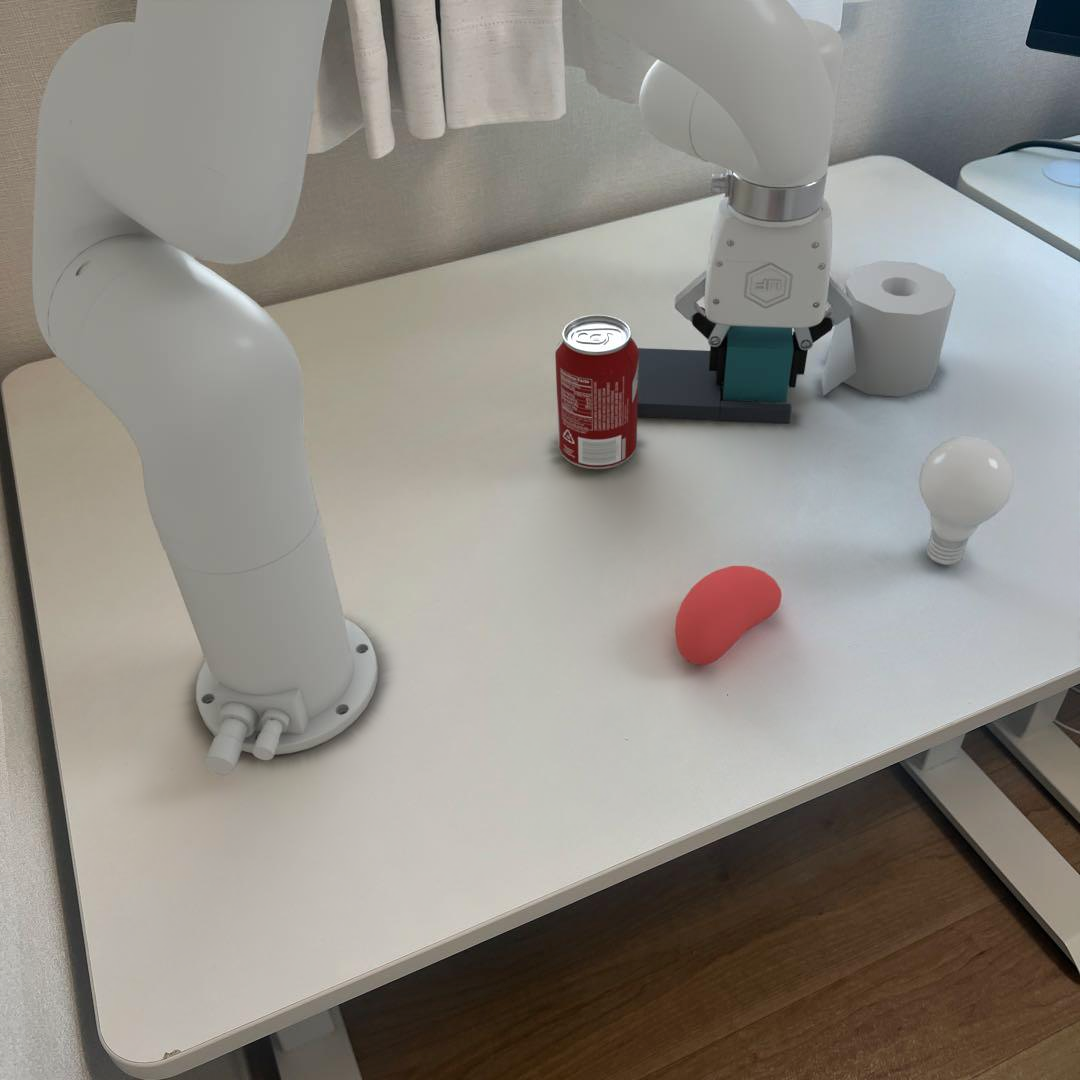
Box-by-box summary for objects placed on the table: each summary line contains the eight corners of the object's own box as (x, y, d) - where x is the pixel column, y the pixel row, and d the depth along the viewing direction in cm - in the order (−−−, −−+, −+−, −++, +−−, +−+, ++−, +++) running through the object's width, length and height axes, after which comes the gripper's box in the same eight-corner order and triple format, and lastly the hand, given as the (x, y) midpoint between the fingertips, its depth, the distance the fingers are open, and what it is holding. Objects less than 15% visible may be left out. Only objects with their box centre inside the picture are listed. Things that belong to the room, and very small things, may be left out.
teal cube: (786, 403, 98) (793, 349, 95) (722, 400, 99) (727, 347, 95) (784, 367, 103) (791, 315, 99) (723, 365, 103) (728, 313, 99)
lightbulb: (883, 544, 86) (910, 431, 79) (952, 522, 88) (985, 410, 80) (932, 597, 82) (965, 484, 74) (1003, 574, 83) (1043, 460, 76)
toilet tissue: (806, 402, 100) (818, 320, 94) (852, 331, 108) (866, 252, 103) (905, 430, 97) (924, 346, 91) (945, 354, 105) (965, 273, 99)
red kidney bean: (652, 632, 82) (649, 612, 76) (744, 556, 83) (748, 531, 77) (698, 685, 80) (698, 669, 74) (792, 607, 81) (799, 585, 75)
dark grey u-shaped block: (789, 423, 98) (791, 410, 97) (588, 414, 100) (588, 401, 99) (786, 366, 104) (787, 353, 103) (597, 359, 107) (597, 346, 106)
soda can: (630, 479, 93) (632, 359, 85) (552, 471, 94) (547, 352, 86) (641, 431, 98) (644, 313, 90) (566, 424, 99) (563, 307, 91)
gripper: (666, 208, 86) (658, 397, 99) (891, 213, 84) (854, 406, 97) (670, 167, 92) (662, 351, 104) (882, 171, 90) (848, 358, 102)
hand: (755, 375), depth 100 cm, fingers open, 5 cm apart
